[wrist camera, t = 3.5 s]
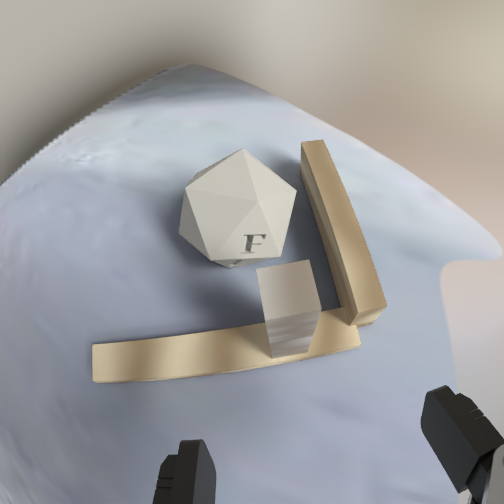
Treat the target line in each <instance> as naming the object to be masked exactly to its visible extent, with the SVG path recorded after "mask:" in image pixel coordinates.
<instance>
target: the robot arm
mask: <svg viewBox="0 0 504 504" xmlns="http://www.w3.org/2000/svg"><path fill="white" fill-rule="evenodd" d="M421 428H422V432H423V434H424V436H425V437H426V439H427V441H428V442H429V444H430V446H431V447H432V449H433V451H434V452H435V454H436V456H437V457H438V459H439V461H440V462H441V464H442V466H443V468H444V469H445V471H446V473H447V474H448V476H449V478H450V480H451V481H452V483H453V485H454V487H455V488H456V490H457V492H458V494H459V493H461V492H462V491H465V490H467V489H469V491H470V493H471V494H470V496H469V499H468V503H467V504H504V439H503V437H502V436H501V435H500V434H499V432H498V431H497V430H496V429H495V427H494V426H493V425H492V424H491V422H490V421H489V420H488V419H487V418H486V417H484V414H483V413H482V412H481V411H480V410H479V409H478V407H477V406H476V405H475V403H474V402H473V401H472V400H471V399H470V398H468V397H466V396H464V395H463V394H461V393H459V394H457V395H455V394H454V393H453V391H452V390H451V389H450V388H449V387H448V386H446V385H444V386H442V387H439V388H437V389H434V390H431V391H429V392H427V394H426V397H425V402H424V407H423V412H422V416H421ZM215 491H216V470H215V465H214V463H213V460H212V458H211V456H210V454H209V451H208V449H207V447H206V445H205V442H204V441H203V440H202V439H200V440H182V441H181V442H180V445H179V450H178V455H168V456H167V458H166V459H165V460H164V462H163V463H162V465H161V467H160V471H159V476H158V480H157V485H156V490H155V494H154V499H153V504H215Z"/></svg>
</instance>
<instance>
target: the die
mask: <svg viewBox="0 0 504 504" xmlns="http://www.w3.org/2000/svg"><path fill="white" fill-rule="evenodd" d="M296 192H297V190H295V189H294V188H293V187H292V186H290V185H289V184H288V183H287V182H285V181H284V180H283V179H282V178H280V177H279V176H278V175H276V174H275V173H274V172H273V171H271V170H270V169H269V168H267V167H266V166H265V165H264V164H262V163H261V162H260V161H258V160H257V159H256V158H254V157H253V156H252V155H250V154H249V153H248V152H247V151H245V150H244V149H240V150H238V151H237V152H235V153H233V154H231V155H229V156H227V157H225V158H224V159H222V160H220V161H218V162H216V163H214V164H213V165H211V166H209V167H207V168H205V169H204V170H202V171H200V172H198V173H197V174H196V175H195V176H194V177H193V179H192V180H191V181H190V182H189V184H188V185H187V186H186V187H185V191H184V198H183V205H182V211H181V219H180V226H179V234H180V235H181V236H183V237H184V238H185V239H186V240H187V241H188V242H190V243H191V244H192V245H193V246H194V247H195V248H197V249H198V250H199V251H200V252H201V253H202V254H204V255H205V256H206V257H207V258H208V259H210V260H211V261H214V262H216V263H218V264H221V265H223V266H225V267H228V268H230V269H231V268H235V267H239V266H244V265H247V264H252V263H257V262H261V261H265V260H270V259H274V258H278V257H281V254H282V250H283V246H284V242H285V238H286V233H287V229H288V225H289V221H290V217H291V213H292V209H293V205H294V200H295V196H296Z"/></svg>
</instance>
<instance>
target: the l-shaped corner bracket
mask: <svg viewBox="0 0 504 504" xmlns="http://www.w3.org/2000/svg"><path fill="white" fill-rule="evenodd" d="M300 174H301V176H302V179H303V182H304V185H305V188H306V191H307V194H308V197H309V200H310V204H311V207H312V210H313V213H314V216H315V219H316V222H317V226H318V229H319V232H320V235H321V239H322V242H323V245H324V249H325V252H326V255H327V259H328V262H329V266H330V269H331V273H332V276H333V280H334V283H335V287H336V290H337V294H338V298H339V302H340V305H341V308H336V309H331V310H327V311H322V312H321V310H322V308H321V304H320V300H319V296H318V292H317V288H316V284H315V280H314V276H313V272H312V268H311V265H310V261H309V259H308V260H303V261H298V262H292V263H287V264H281V265H275V266H270V267H264V268H259V269H256V271H257V277H258V282H259V288H260V294H261V300H262V305H263V311H264V317H265V322H264V323H258V324H253V325H247V326H241V327H234V328H228V329H222V330H215V331H208V332H201V333H194V334H187V335H179V336H171V337H163V338H155V339H146V340H137V341H127V342H117V343H106V344H94V345H92V367H93V382H97V383H121V382H140V381H154V380H167V379H178V378H188V377H197V376H206V375H214V374H222V373H229V372H237V371H243V370H250V369H256V368H262V367H268V366H274V365H280V364H285V363H290V362H296V361H301V360H306V359H311V358H315V357H320V356H325V355H329V354H334V353H338V352H342V351H346V350H351V349H355V348H358V347H359V346H360V345H361V342H360V338H359V334H358V330H357V327H362V326H366V325H370V324H372V323H373V322H374V321H375V320H376V318H377V317H378V316H379V315H380V314H381V312H382V311H383V310H384V309H385V307H386V306H387V304H386V300H385V297H384V294H383V291H382V288H381V285H380V282H379V279H378V276H377V273H376V270H375V267H374V264H373V261H372V258H371V255H370V253H369V250H368V247H367V244H366V242H365V239H364V236H363V234H362V231H361V228H360V226H359V223H358V220H357V218H356V215H355V213H354V210H353V208H352V205H351V203H350V200H349V198H348V195H347V193H346V191H345V188H344V186H343V183H342V181H341V179H340V176H339V174H338V172H337V169H336V167H335V165H334V163H333V160H332V158H331V156H330V154H329V152H328V149H327V147H326V145H325V143H324V141H323V140H315V141H307V142H301V169H300Z"/></svg>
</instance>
